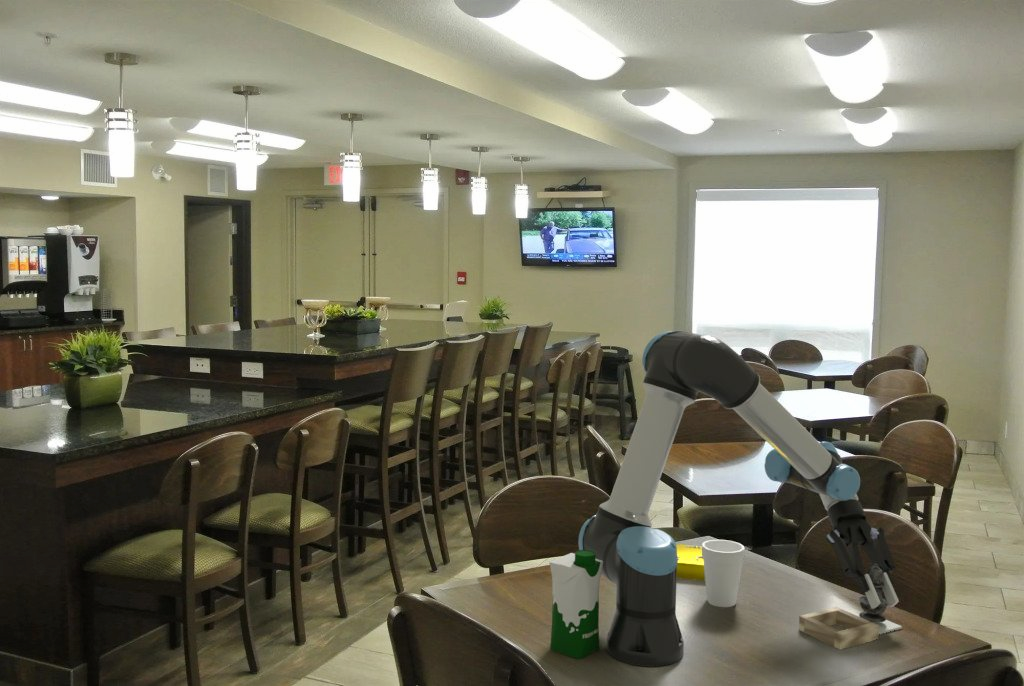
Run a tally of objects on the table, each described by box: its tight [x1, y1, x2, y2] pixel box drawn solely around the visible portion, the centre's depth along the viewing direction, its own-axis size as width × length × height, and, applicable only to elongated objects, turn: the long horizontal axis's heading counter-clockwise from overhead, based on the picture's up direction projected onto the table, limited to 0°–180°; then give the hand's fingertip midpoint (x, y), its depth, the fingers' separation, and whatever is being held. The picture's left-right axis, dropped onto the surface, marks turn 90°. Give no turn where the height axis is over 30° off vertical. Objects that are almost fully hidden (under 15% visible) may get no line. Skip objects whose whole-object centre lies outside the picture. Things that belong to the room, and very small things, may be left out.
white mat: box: [858, 615, 903, 636], centre depth 193 cm, size 8×8×1 cm
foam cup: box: [701, 539, 746, 608], centre depth 205 cm, size 10×9×13 cm
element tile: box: [676, 543, 705, 581], centre depth 226 cm, size 15×15×5 cm
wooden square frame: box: [798, 606, 879, 651], centre depth 188 cm, size 11×11×3 cm
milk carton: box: [548, 549, 603, 660], centre depth 179 cm, size 9×9×20 cm
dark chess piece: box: [858, 563, 889, 622], centre depth 192 cm, size 6×6×12 cm
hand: (885, 604), depth 189 cm, fingers closed on dark chess piece, 4 cm apart
